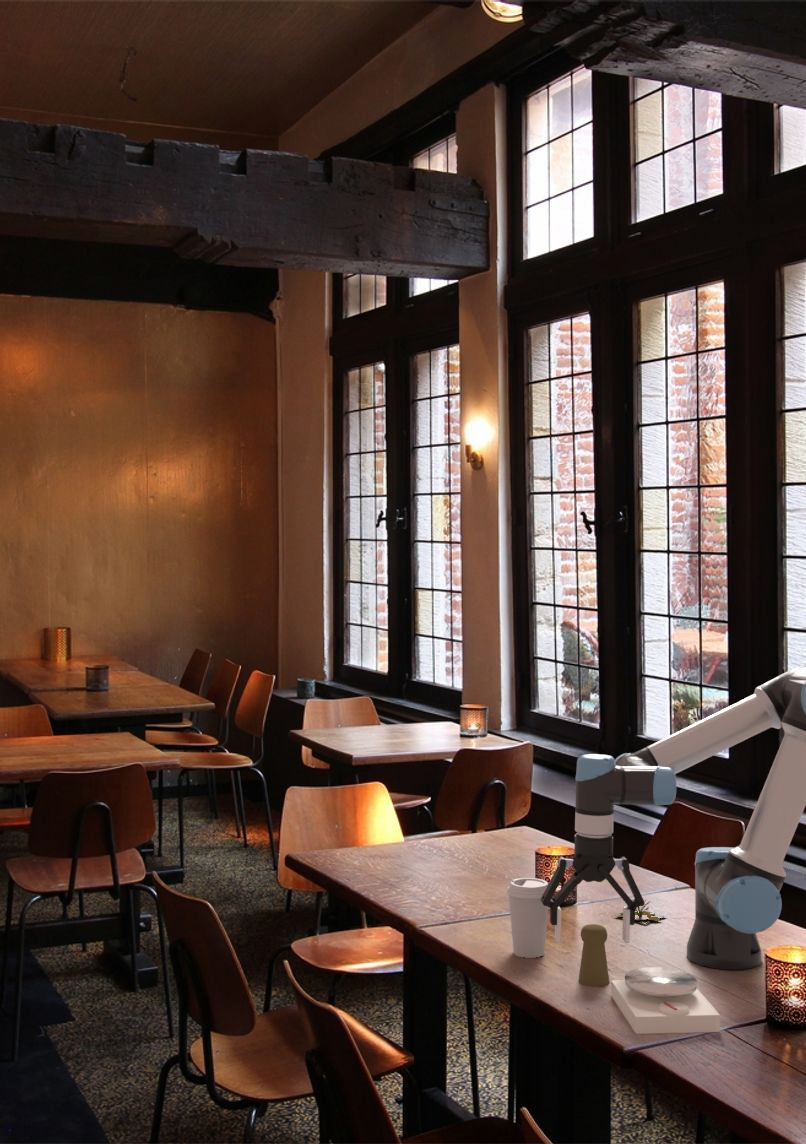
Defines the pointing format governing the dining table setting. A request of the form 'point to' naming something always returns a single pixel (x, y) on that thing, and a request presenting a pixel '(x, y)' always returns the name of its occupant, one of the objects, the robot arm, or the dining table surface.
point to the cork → (594, 956)
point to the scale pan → (660, 982)
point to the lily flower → (644, 914)
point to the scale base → (665, 1011)
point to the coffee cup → (528, 916)
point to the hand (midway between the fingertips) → (591, 941)
